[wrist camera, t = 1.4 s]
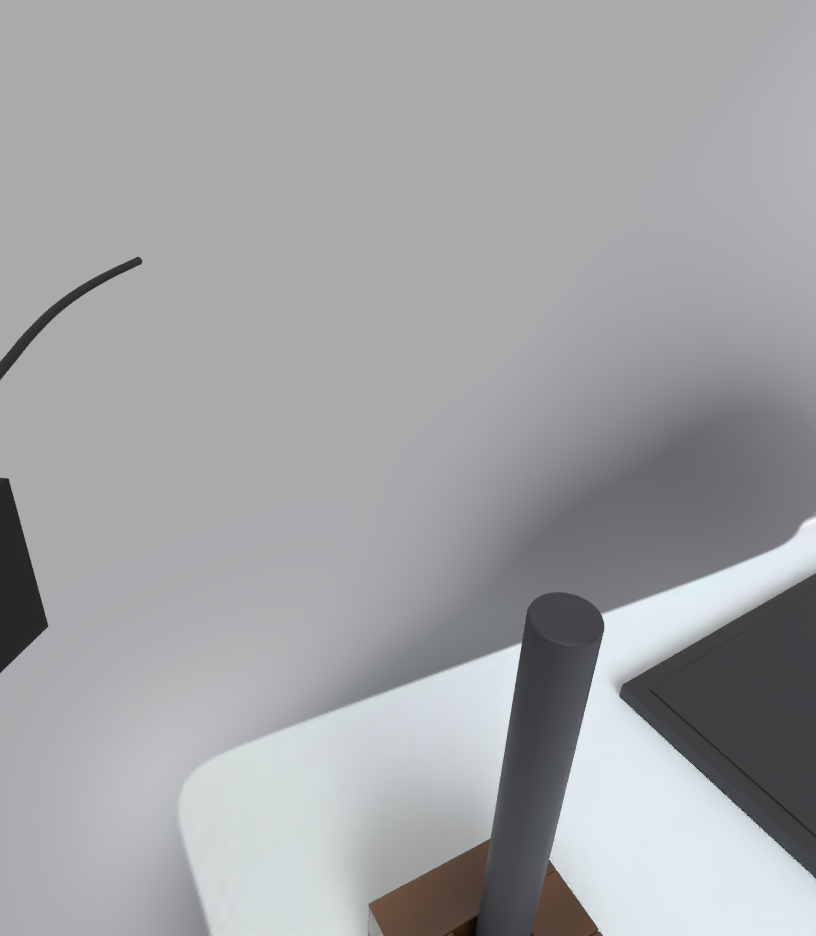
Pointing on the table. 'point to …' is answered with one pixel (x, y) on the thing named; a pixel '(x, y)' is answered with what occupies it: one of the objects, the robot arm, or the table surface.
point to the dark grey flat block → (748, 713)
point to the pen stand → (470, 903)
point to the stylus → (538, 757)
